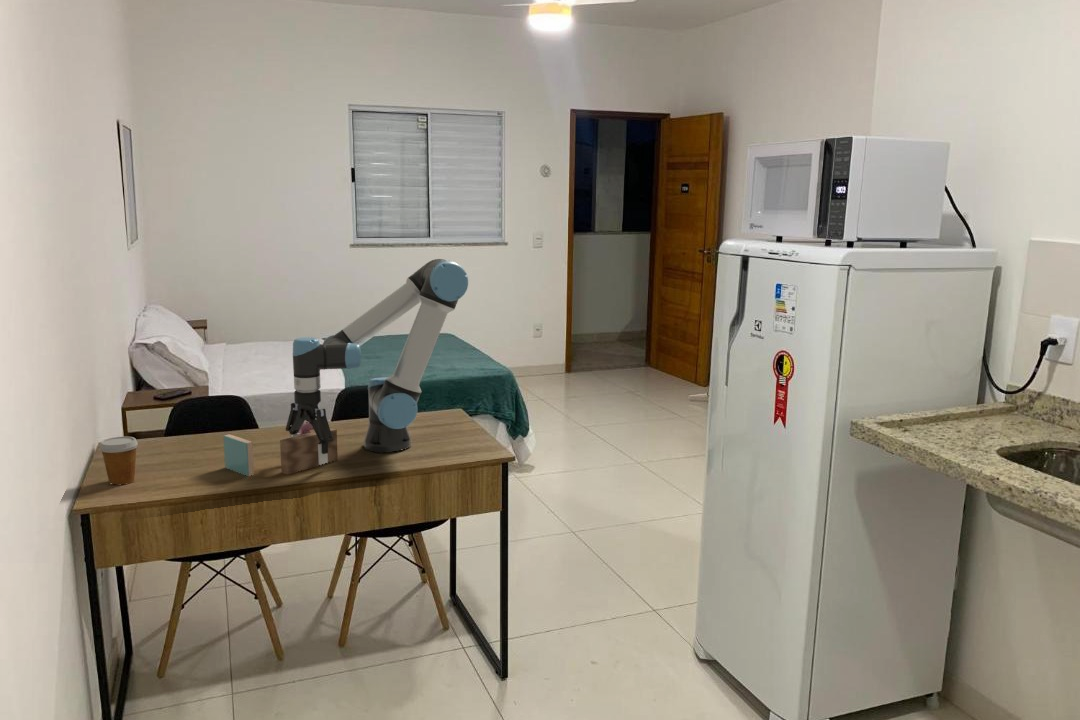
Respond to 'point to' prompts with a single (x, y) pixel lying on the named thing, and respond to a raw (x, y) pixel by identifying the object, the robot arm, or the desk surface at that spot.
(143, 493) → the desk surface
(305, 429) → the video game controller
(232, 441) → the tile
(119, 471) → the disposable coffee cup
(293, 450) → the wooden plank
